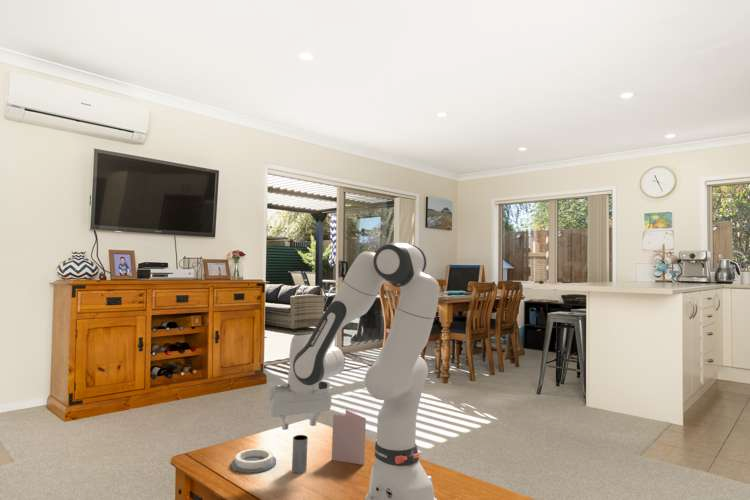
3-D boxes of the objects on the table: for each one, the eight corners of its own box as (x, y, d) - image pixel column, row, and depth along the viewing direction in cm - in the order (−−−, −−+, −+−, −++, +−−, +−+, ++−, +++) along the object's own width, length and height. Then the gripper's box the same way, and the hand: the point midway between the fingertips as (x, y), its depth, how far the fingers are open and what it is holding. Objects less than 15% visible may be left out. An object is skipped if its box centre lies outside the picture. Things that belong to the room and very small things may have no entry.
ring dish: (282, 468, 152) (282, 459, 153) (238, 476, 145) (238, 467, 145) (268, 452, 164) (268, 444, 164) (226, 460, 157) (226, 451, 157)
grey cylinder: (303, 474, 148) (304, 440, 149) (289, 472, 149) (290, 439, 150) (308, 468, 153) (309, 435, 153) (294, 466, 154) (296, 434, 154)
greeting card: (366, 464, 158) (367, 417, 158) (347, 469, 153) (349, 421, 154) (346, 453, 167) (347, 409, 167) (328, 457, 162) (329, 412, 163)
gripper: (273, 388, 144) (270, 435, 144) (334, 383, 155) (332, 426, 154) (266, 383, 150) (263, 428, 149) (326, 378, 160) (323, 420, 160)
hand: (299, 427), depth 152 cm, fingers open, 8 cm apart
